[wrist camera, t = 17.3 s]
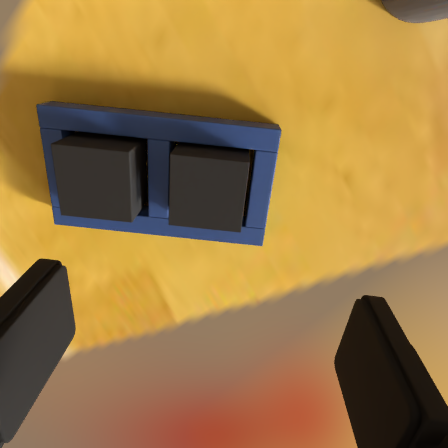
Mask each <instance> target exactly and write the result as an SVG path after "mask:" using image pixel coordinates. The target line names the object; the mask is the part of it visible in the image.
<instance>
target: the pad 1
mask: <svg viewBox="0 0 448 448" xmlns="http://www.w3.org/2000/svg"><path fill="white" fill-rule="evenodd" d="M51 151H52V157H53V164H54V171H55V178H56V185H57V191H58V198H59V205H60V212H61V215H63V216H73V217H82V218H92V219H101V220H111V221H121V222H130V223H132V222H133V221H134V219H135V218H136V216H137V215H138V213H139V212H140V210H141V209H142V208H143V206H144V205H145V203H146V202H147V158H146V138H136V137H127V136H117V135H107V134H98V133H88V132H76V133H74V134H72V135H69V136H67V137H65V138H63V139H60V140H58V141H56V142H53V143H51Z"/></svg>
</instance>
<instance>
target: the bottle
mask: <svg viewBox="0 0 448 448" xmlns="http://www.w3.org/2000/svg"><path fill="white" fill-rule="evenodd" d="M381 1H382V3H383V5H384V7H385V8H386V9H387V10H388V11H389V12H390V13H391V14H392V15H393V16H394V17H396V18H398V19H399V20H402V21H405V22H411V23H423V22H430V21H436V20H441V19H446V18H448V0H381Z"/></svg>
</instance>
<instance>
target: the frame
mask: <svg viewBox="0 0 448 448" xmlns="http://www.w3.org/2000/svg"><path fill="white" fill-rule="evenodd" d="M36 107H37V113H38V119H39V126H40V127H41V128H40V133H41V139H42V145H43V152H44V158H45V165H46V171H47V177H48V184H49V190H50V197H51V203H52V210H53V217H54V223H55V224H57V225H67V226H76V227H86V228H95V229H105V230H114V231H124V232H133V233H143V234H152V235H162V236H171V237H181V238H190V239H200V240H209V241H219V242H229V243H238V244H248V245H257V246H262V245H263V239H264V233H265V227H266V221H267V215H268V209H269V203H270V197H271V191H272V184H273V178H274V172H275V166H276V160H277V154H278V153H277V152H278V148H279V142H280V136H281V129H280V127H279V125H278V124H269V123H260V122H250V121H240V120H230V119H221V118H211V117H201V116H192V115H182V114H172V113H162V112H153V111H143V110H133V109H124V108H114V107H104V106H94V105H85V104H75V103H65V102H56V101H50V102H46V103H41V104H37V105H36ZM75 131H78V132H88V133H98V134H107V135H117V136H127V137H136V138H146V139H148V206H145V205H144V206H143V208H142V209H141V210H140V212H139V213H138V215H137V216H136V218H135V219H134V221H133V222H132V223H130V222H121V221H111V220H101V219H92V218H82V217H73V216H63V215H61V212H60V205H59V198H58V191H57V185H56V178H55V171H54V164H53V157H52V151H51V143H53V142H56V141H58V140H60V139H63V138H65V137H67V136H69V135H72V134H74V133H75ZM175 142H185V143H194V144H204V145H214V146H223V147H233V148H243V149H252V150H254V153H253V161H252V168H251V176H250V183H249V191H248V198H247V206H246V213H245V216H243V219H242V227H241V232H240V233H239V232H229V231H220V230H210V229H200V228H191V227H181V226H172V225H169V175H170V154H171V152H172V151H173V150H174V148H175Z"/></svg>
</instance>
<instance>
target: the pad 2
mask: <svg viewBox="0 0 448 448" xmlns="http://www.w3.org/2000/svg"><path fill="white" fill-rule="evenodd" d="M249 165H250V158H249V149H243V148H233V147H223V146H214V145H204V144H194V143H185V142H179V143H178V145H177V146H176V147H175V148H174V150H173V151H172V152H171V154H170V175H169V225H172V226H181V227H191V228H200V229H210V230H220V231H229V232H239V233H240V232H241V227H242V219H243V212H244V204H245V196H246V189H247V181H248V173H249Z"/></svg>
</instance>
